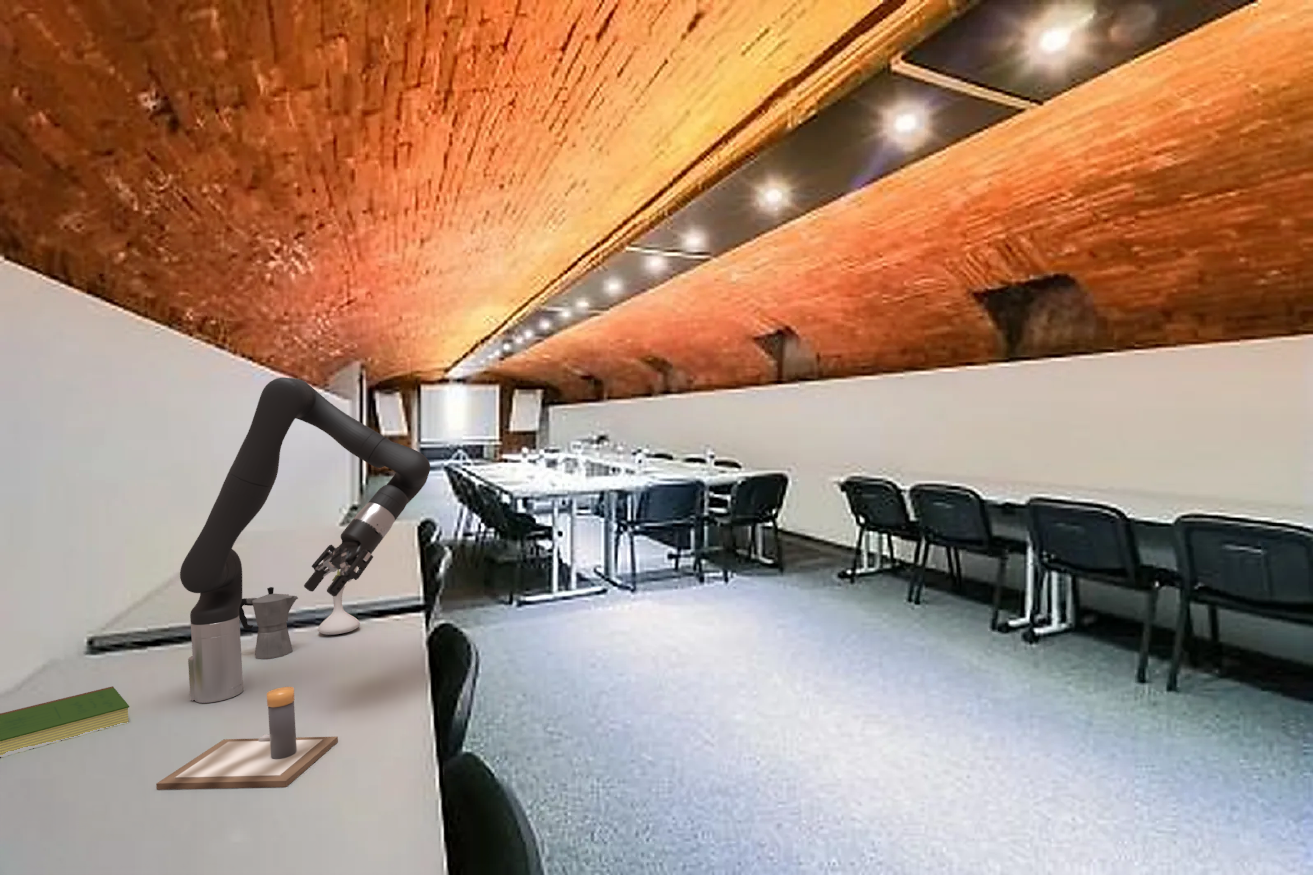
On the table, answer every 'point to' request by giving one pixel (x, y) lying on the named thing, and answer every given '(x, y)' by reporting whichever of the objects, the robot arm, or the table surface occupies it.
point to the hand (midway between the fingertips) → (319, 591)
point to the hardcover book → (61, 719)
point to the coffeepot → (270, 623)
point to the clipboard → (246, 764)
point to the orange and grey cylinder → (282, 722)
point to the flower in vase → (338, 617)
